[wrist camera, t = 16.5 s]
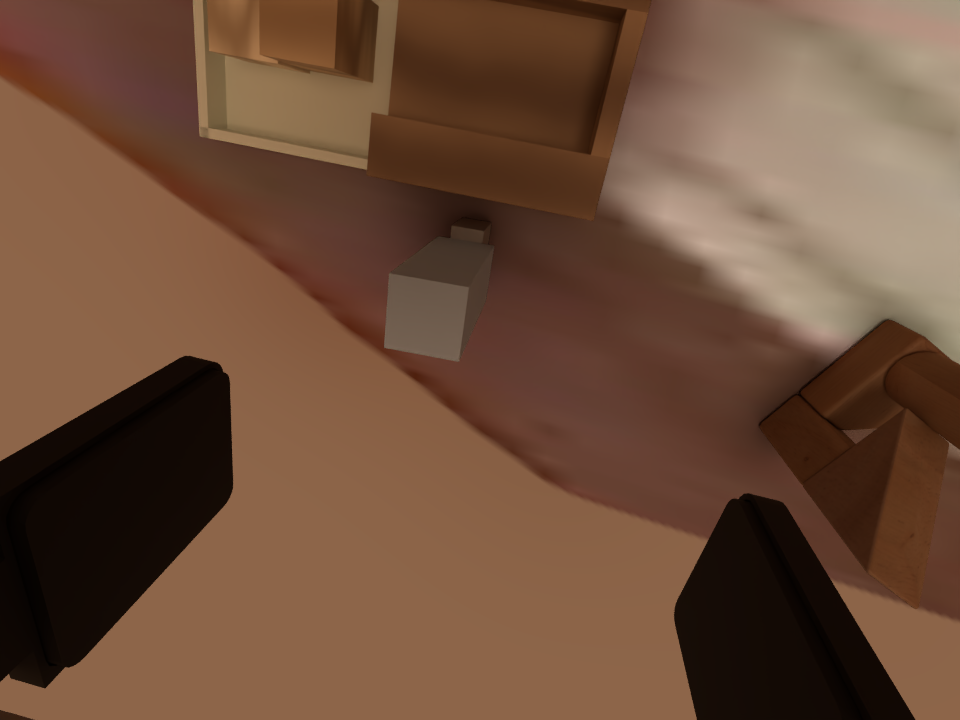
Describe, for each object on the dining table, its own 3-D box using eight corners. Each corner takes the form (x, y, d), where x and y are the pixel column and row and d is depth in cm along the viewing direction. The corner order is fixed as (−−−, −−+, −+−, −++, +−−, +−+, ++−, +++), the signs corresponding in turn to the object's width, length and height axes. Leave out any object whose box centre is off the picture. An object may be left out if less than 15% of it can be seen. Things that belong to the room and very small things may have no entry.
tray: (215, -108, 29) (186, -130, 26) (415, -73, 28) (403, -93, 26) (223, 137, 34) (199, 136, 32) (391, 170, 33) (379, 172, 31)
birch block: (312, -3, 30) (248, -15, 30) (278, -24, 26) (205, -37, 26) (309, 73, 31) (249, 62, 31) (278, 63, 28) (209, 50, 28)
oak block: (313, -6, 29) (259, -41, 24) (378, 6, 29) (339, -27, 24) (311, 71, 31) (259, 54, 26) (372, 82, 31) (334, 68, 25)
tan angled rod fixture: (755, 424, 37) (918, 646, 20) (886, 316, 33) (1222, 485, 16) (791, 452, 37) (978, 690, 21) (924, 349, 33) (1288, 545, 17)
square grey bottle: (451, 215, 34) (390, 255, 21) (502, 224, 34) (471, 270, 21) (443, 286, 36) (383, 362, 23) (491, 295, 36) (456, 376, 23)
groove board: (418, -73, 28) (389, -121, 23) (648, -33, 27) (670, -73, 22) (394, 171, 33) (366, 175, 28) (586, 209, 33) (593, 220, 28)
